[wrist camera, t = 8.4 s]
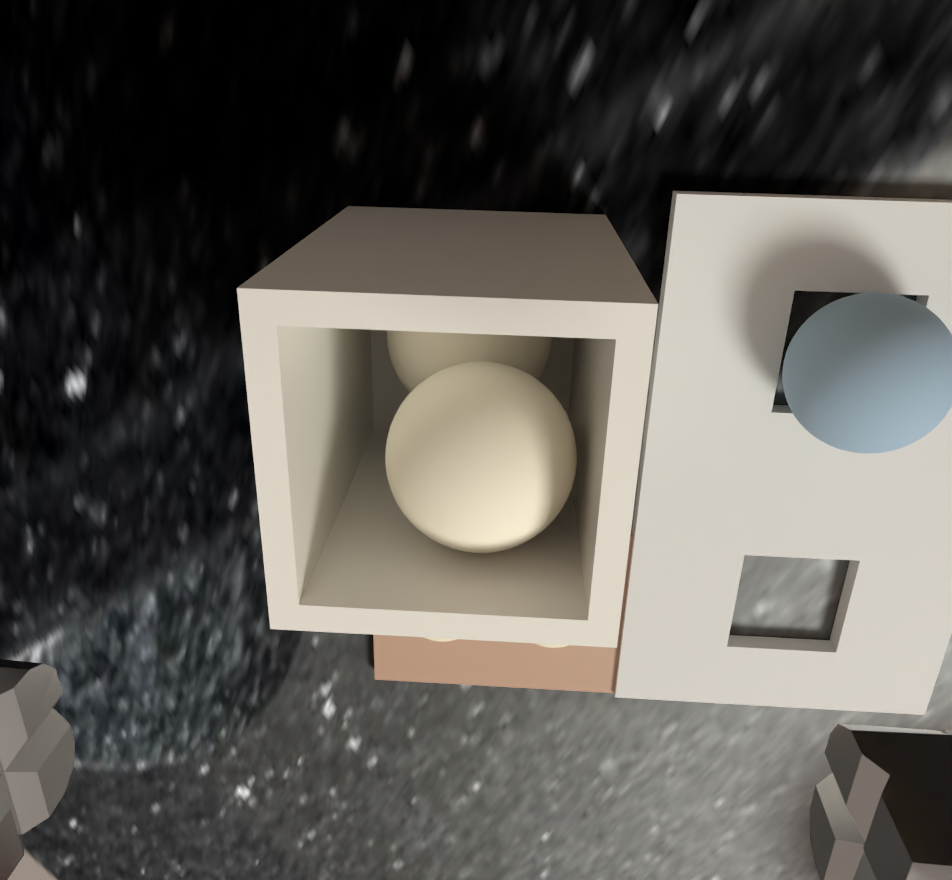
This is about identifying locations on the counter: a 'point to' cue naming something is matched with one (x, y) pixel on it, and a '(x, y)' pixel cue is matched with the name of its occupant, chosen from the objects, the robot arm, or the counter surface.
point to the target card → (500, 661)
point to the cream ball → (481, 457)
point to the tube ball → (462, 352)
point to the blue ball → (870, 373)
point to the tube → (382, 392)
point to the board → (783, 464)
